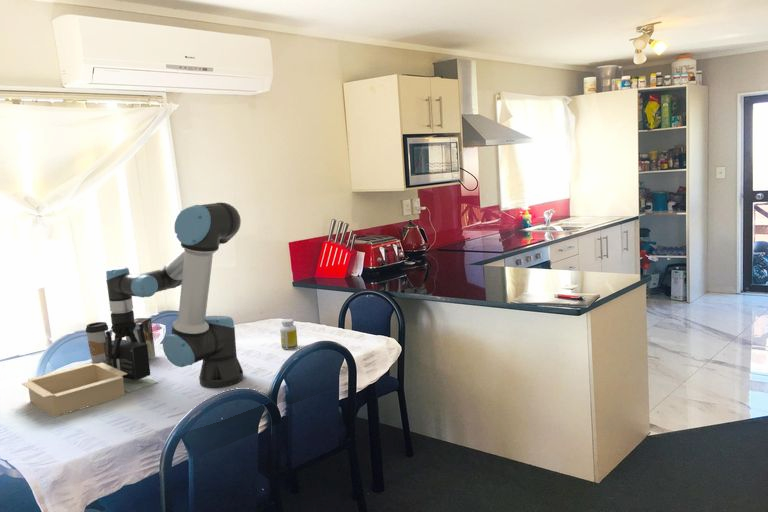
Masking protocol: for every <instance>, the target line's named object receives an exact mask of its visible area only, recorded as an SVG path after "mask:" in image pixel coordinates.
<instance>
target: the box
mask: <svg viewBox="0 0 768 512" xmlns="http://www.w3.org/2000/svg"><path fill="white" fill-rule="evenodd" d="M114 340H115V339H113V340H112V349H113V344H114ZM104 350H105V343H104ZM117 358H118V359H119V362H120V371H123V372H125V373H127V375H123V378H127V379H131V380H135V381H137V380H139V379H142V378H144V377H149V376H151V366H150V359H149V356H148V348H147V344H146V343H140V342H133V341H129V340H126V339H123V338H122V340H121V343H120V346H119V351H118V355H117ZM105 364H107V365H109V366H111V367H112V361H111V359H107V358H106V362H105Z"/></svg>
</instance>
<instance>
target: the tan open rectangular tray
mask: <svg viewBox="0 0 768 512" xmlns="http://www.w3.org/2000/svg"><path fill="white" fill-rule="evenodd" d="M123 375H127V373H125V372H123V371H120V370H118V369H116V368H114V367H111V366H109V365H107V364H106V362H103V363H93V362H89V363H87V364H83V365H77V366H74V367H70V368H67V369H62V370H60V371H59V370H58V371H55V372H52V373H48V374H44V375H40V376H36V377H32V378H29V379H28V380H27V381H26V382H22V383H21V385H22V386H24V387H25V388H27V389H28V395H29V400H30V401H29V402H30V403H32V404H34V405H35V406H36V407H38V408H40V409H41V410H43V411H44V412H46V413H47V414H49V415H51V417H54V418H55V417H59V416H62V415H61V414H63V415H65V414H64V413H66V414H68V413H67V412H69V413H71V412H70V411H72V412H75V411H74V410H76V411H79V410H81V409H80V408H82V409H85V408H84V407H86V408H88V407H87V406H89V407H91V405H92V406H94V405H98V403H99V404H102V403H104V401H105V402H107V400H108V401H112V400H115V399H119V398H121V397H124V396H126V394H125V392H126V391H125V390H124V384H123ZM111 399H112V400H111ZM78 409H79V410H78Z"/></svg>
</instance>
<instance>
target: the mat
mask: <svg viewBox="0 0 768 512" xmlns="http://www.w3.org/2000/svg"><path fill="white" fill-rule="evenodd" d="M123 384H124V392H127V393H129V392H132V391H136V390H139V389H142V388H145V387H150V386H153V385H156V384H159V381H157V380H155V379H152V378H150V377H149V376H147V377H144V378H142V379H139V380H137V381H135V380H131V379H127V378H123Z"/></svg>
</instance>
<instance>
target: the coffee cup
mask: <svg viewBox="0 0 768 512" xmlns="http://www.w3.org/2000/svg"><path fill="white" fill-rule="evenodd" d="M108 330H110V328H109V325H108V324H107V322H105V321H99V322H93V323H88V324H86V327H85V333H86V336H87V338H86V339H87V344H88V348H89V349H88V350H89V353H90V354H89V355H90V357H91V361H92V363H93V362H94V363H93V364H98V363H106V357H105V350H104V343H105V335H104V331H108Z"/></svg>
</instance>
